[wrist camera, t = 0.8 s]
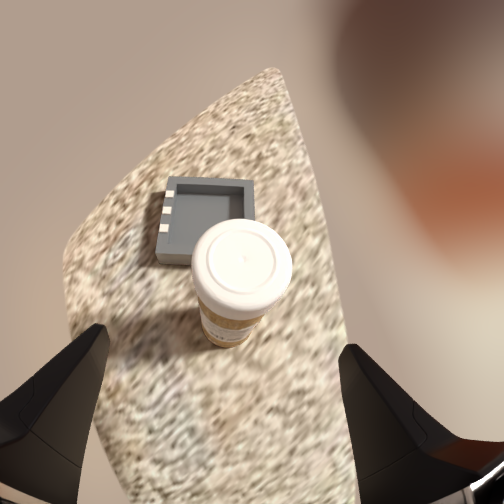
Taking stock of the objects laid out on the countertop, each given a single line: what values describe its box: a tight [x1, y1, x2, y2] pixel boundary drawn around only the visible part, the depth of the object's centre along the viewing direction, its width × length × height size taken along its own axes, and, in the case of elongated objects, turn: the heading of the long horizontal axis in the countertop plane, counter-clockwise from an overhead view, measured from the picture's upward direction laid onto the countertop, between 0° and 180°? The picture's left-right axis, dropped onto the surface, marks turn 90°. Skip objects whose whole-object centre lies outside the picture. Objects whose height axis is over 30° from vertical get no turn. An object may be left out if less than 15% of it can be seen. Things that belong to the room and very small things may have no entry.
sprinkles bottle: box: [191, 219, 292, 347], centre depth 18 cm, size 5×5×13 cm
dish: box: [155, 177, 255, 265], centre depth 27 cm, size 9×9×2 cm
